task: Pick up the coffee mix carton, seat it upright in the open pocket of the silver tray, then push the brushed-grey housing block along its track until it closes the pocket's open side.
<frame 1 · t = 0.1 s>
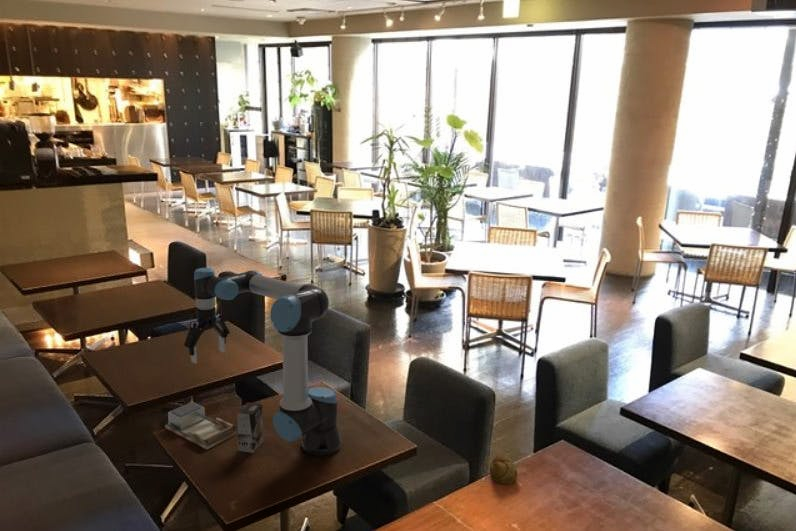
hand: (208, 357, 246), 28 cm above the table, fingers open, 13 cm apart
housing: (186, 415, 248), point 4 cm above the table, slide at 0.0 cm
olive snail shell: (502, 476, 221), on the table
silver tray: (200, 431, 244), on the table
coffee box: (251, 446, 235), on the table
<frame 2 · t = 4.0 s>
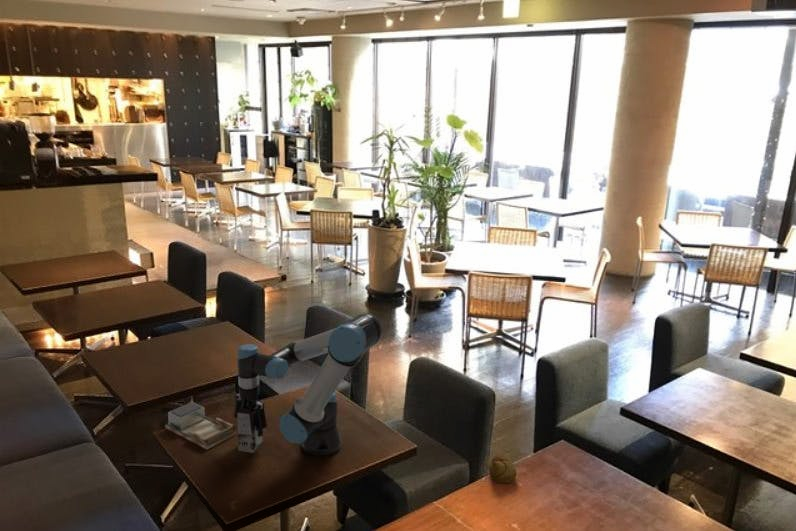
hand: (250, 439, 234), 3 cm above the table, fingers closed on coffee box, 8 cm apart
coffee box: (251, 446, 235), on the table, touching gripper
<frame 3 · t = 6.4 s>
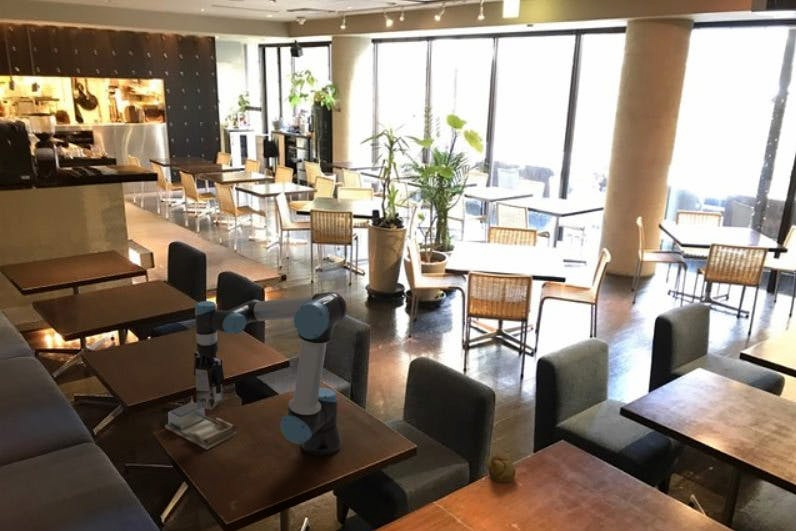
hand: (209, 396, 236), 17 cm above the table, fingers closed on coffee box, 8 cm apart
coffee box: (210, 403, 237), point 14 cm above the table, touching gripper
when the fingers open (5 cm above the table, at t = 9.0 s): coffee box drops 1 cm, resting on silver tray.
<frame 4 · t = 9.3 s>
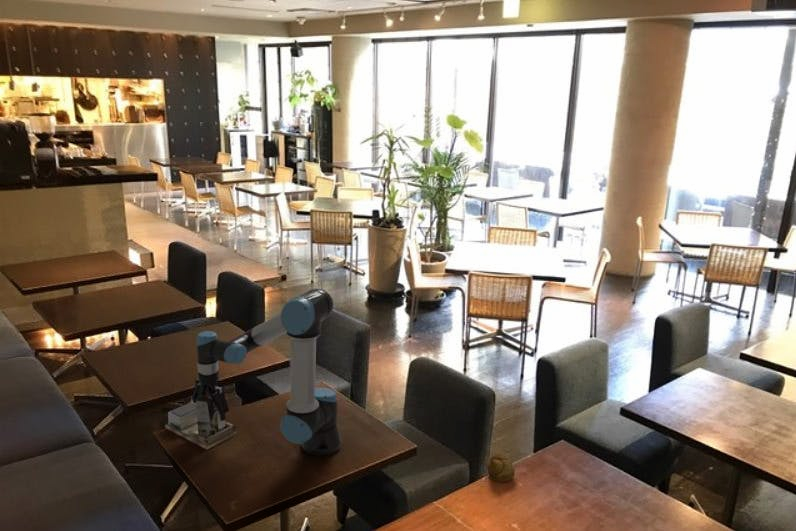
hand: (211, 422, 239), 6 cm above the table, fingers open, 12 cm apart
coffee box: (211, 434, 240), point 1 cm above the table, touching silver tray
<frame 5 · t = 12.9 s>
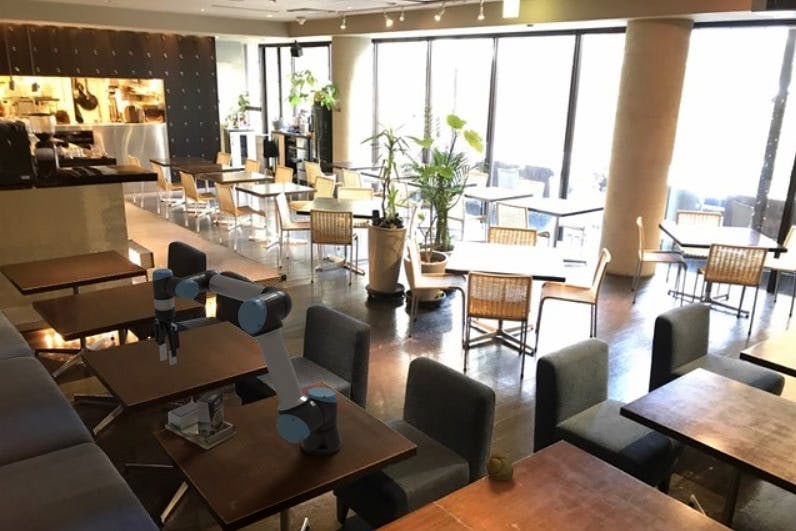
hand: (168, 361, 248), 25 cm above the table, fingers open, 6 cm apart
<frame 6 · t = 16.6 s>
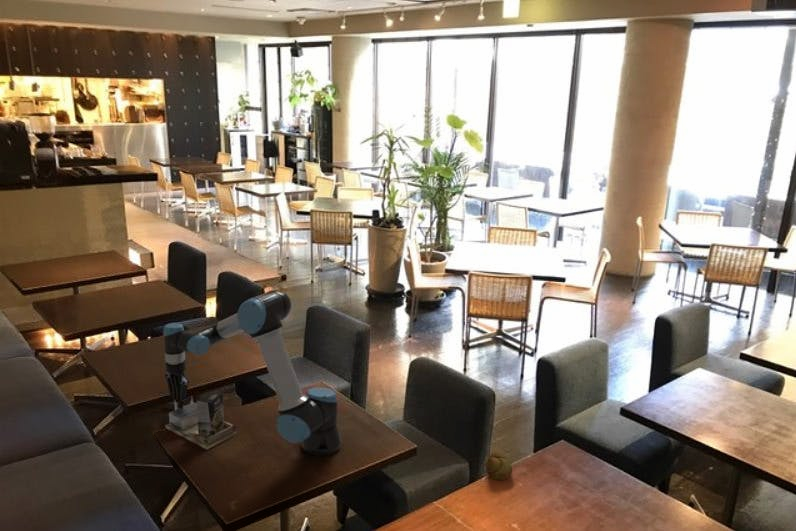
hand: (179, 414, 251), 3 cm above the table, fingers closed
housing: (187, 415, 247), point 4 cm above the table, slide at 0.7 cm, touching gripper
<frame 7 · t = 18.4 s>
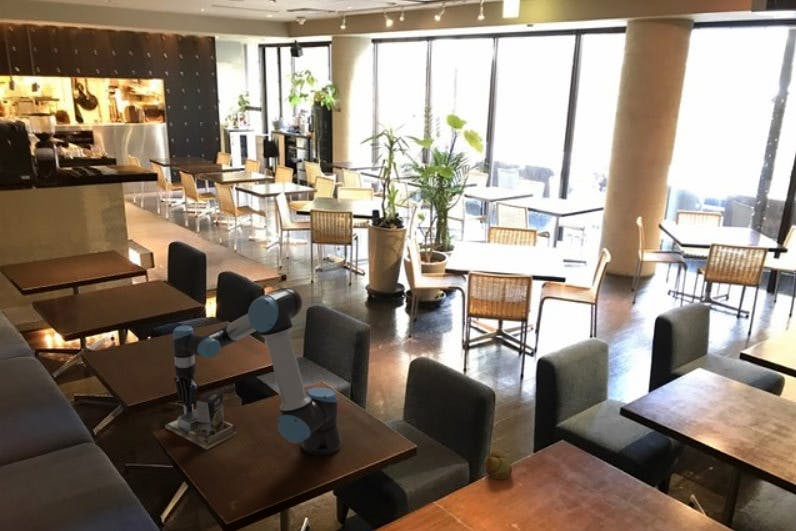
hand: (188, 418, 247), 3 cm above the table, fingers closed
housing: (196, 419, 244), point 4 cm above the table, slide at 6.3 cm, touching gripper
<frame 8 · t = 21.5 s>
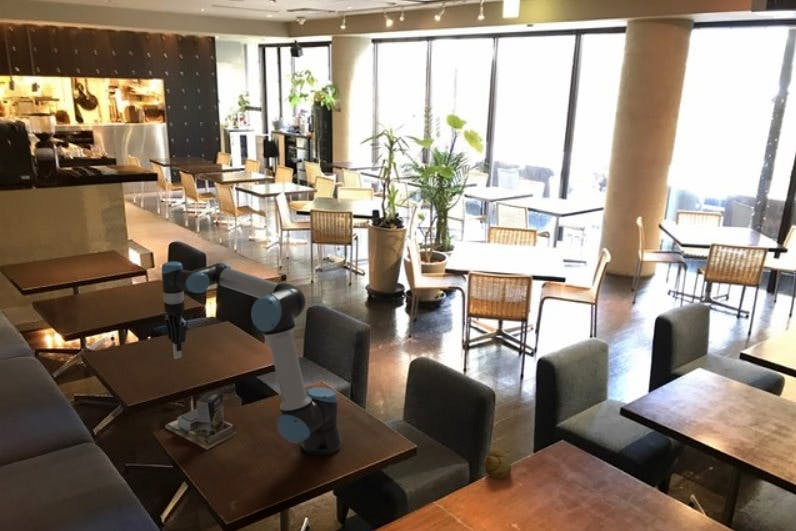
hand: (177, 357, 243), 28 cm above the table, fingers closed
housing: (196, 419, 244), point 4 cm above the table, slide at 6.3 cm
at the end: coffee box inside the target area (0.1 cm from its centre), point 1.0 cm above the table; coffee box tilted 0°; housing slide at 6.3 cm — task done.
